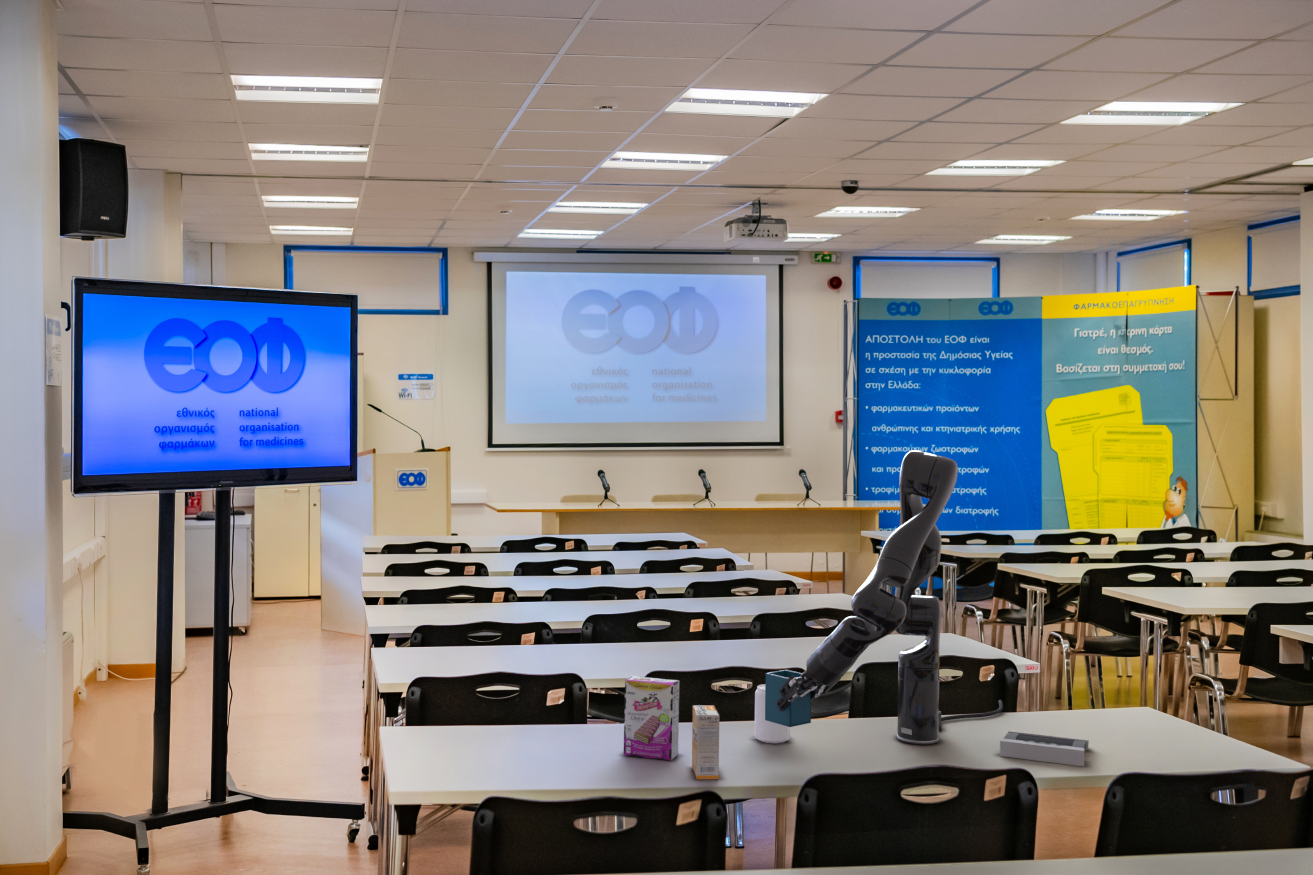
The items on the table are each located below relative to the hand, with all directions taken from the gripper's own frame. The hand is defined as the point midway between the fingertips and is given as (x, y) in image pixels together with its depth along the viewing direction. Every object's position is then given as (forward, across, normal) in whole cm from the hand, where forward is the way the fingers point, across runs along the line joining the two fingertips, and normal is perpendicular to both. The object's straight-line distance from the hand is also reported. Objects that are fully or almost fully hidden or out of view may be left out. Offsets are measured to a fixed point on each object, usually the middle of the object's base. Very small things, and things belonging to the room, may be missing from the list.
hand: (790, 705), depth 232 cm
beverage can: (+20, +11, +3) cm, 23 cm away
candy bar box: (+24, -20, +7) cm, 32 cm away
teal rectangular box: (+2, 0, +4) cm, 5 cm away
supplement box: (+13, -19, -5) cm, 24 cm away
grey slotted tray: (-10, +53, -28) cm, 61 cm away
